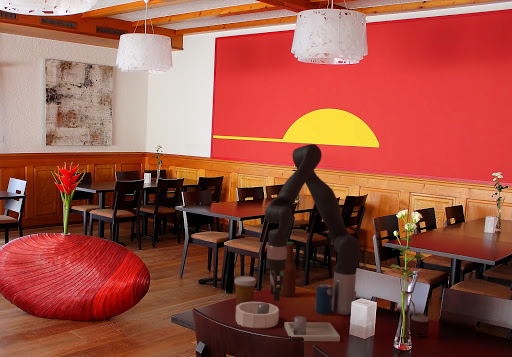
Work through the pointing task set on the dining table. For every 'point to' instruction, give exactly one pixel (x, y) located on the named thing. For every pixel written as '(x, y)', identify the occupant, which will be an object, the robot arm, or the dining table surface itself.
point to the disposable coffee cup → (244, 289)
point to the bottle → (289, 273)
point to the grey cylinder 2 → (300, 325)
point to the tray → (315, 331)
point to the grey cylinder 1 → (263, 308)
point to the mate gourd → (419, 323)
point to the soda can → (324, 299)
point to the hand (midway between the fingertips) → (274, 297)
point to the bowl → (256, 315)
